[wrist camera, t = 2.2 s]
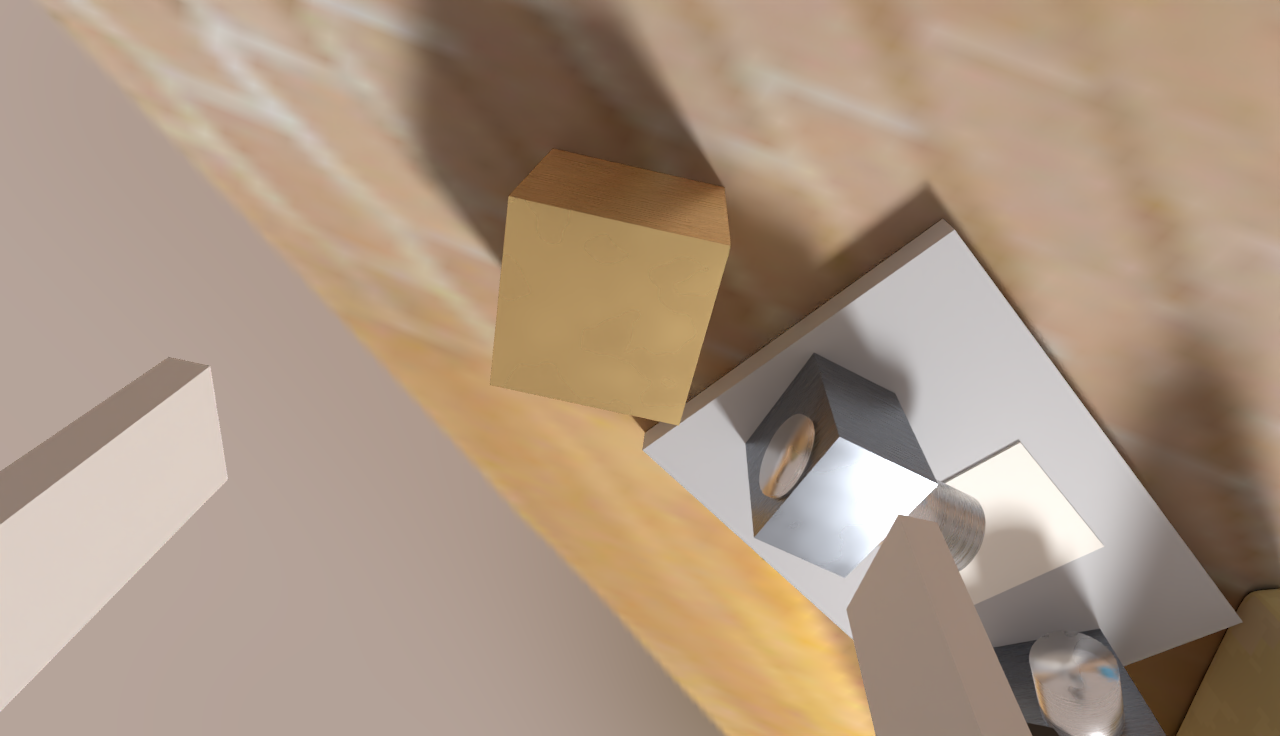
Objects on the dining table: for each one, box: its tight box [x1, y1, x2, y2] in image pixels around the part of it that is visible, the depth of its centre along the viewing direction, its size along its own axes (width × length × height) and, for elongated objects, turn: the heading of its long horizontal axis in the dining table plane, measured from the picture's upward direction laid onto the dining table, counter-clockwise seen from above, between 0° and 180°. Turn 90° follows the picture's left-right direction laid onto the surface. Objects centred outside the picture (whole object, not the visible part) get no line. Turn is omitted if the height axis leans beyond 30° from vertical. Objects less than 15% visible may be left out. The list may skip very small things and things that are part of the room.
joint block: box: [490, 148, 731, 426], centre depth 21 cm, size 6×6×6 cm
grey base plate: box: [643, 219, 1243, 666], centre depth 28 cm, size 24×14×1 cm, turn 44°
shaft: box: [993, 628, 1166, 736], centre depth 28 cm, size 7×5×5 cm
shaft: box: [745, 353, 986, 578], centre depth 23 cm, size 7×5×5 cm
